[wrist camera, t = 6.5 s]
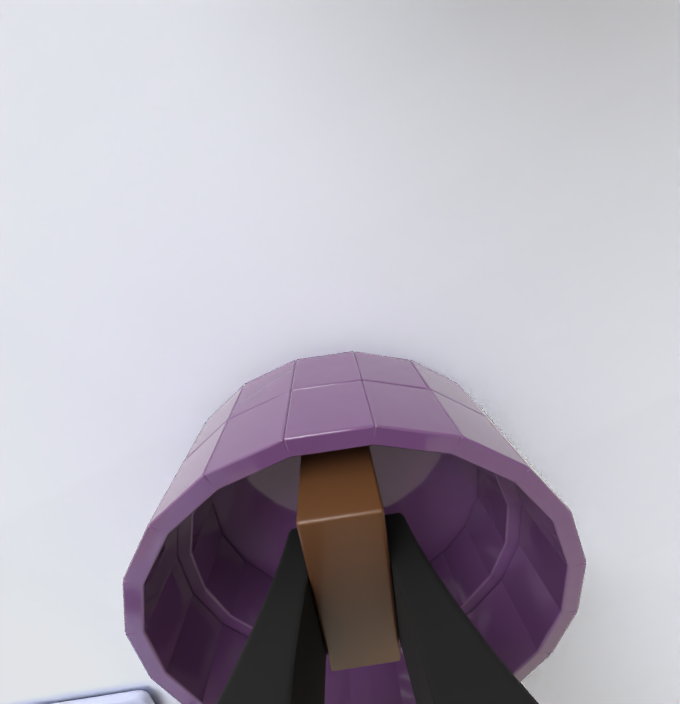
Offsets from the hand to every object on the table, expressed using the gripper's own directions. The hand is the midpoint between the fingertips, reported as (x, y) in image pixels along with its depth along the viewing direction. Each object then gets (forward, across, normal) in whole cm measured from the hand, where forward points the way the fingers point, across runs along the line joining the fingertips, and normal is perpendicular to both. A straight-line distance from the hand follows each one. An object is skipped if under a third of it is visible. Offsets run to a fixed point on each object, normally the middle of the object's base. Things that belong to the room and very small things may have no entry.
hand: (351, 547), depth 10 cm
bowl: (+4, 0, +2) cm, 4 cm away
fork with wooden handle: (+1, 0, +2) cm, 2 cm away
